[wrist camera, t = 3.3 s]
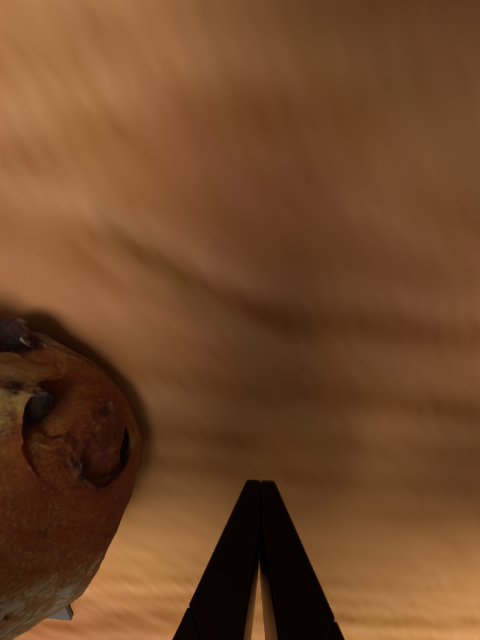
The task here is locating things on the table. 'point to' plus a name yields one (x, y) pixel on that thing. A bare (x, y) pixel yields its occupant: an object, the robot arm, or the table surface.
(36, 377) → the bread roll
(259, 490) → the robot arm
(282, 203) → the table surface
